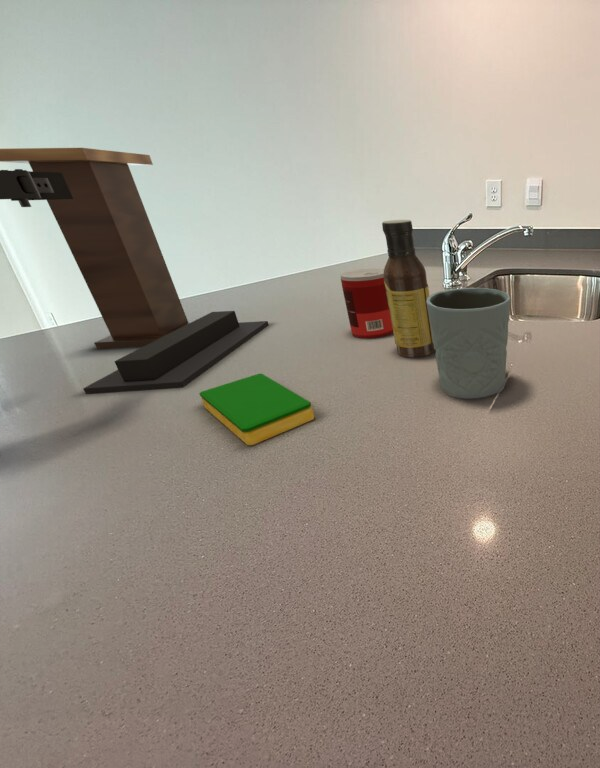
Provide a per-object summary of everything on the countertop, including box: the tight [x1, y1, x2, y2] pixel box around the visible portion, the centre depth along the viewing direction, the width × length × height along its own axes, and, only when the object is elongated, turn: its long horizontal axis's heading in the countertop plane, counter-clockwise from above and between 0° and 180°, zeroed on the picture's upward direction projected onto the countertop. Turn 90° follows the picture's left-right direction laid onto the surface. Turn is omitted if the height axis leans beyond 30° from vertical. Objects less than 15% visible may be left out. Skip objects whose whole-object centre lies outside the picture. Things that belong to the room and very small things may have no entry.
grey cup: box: [426, 287, 511, 400], centre depth 51 cm, size 10×10×12 cm
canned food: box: [340, 268, 394, 339], centre depth 72 cm, size 8×8×11 cm
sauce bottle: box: [381, 219, 436, 358], centre depth 61 cm, size 6×6×20 cm
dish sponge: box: [199, 373, 315, 446], centre depth 48 cm, size 7×14×2 cm, turn 51°
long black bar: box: [114, 310, 240, 381], centre depth 65 cm, size 24×4×3 cm, turn 7°
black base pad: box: [82, 320, 270, 395], centre depth 67 cm, size 28×12×1 cm, turn 7°
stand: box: [0, 147, 198, 350], centre depth 69 cm, size 14×12×30 cm
